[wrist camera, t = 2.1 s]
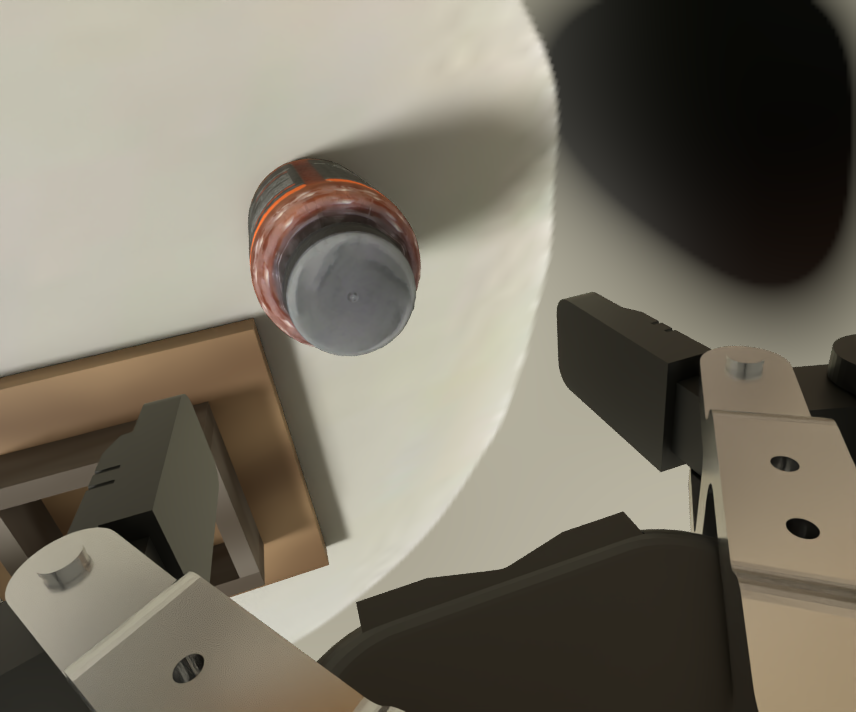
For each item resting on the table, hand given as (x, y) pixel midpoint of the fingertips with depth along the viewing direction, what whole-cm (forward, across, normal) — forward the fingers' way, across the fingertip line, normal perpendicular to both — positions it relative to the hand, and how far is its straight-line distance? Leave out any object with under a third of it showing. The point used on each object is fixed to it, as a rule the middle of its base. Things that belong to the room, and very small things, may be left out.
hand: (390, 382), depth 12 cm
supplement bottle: (+17, 0, 0) cm, 17 cm away
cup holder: (+17, +12, +12) cm, 24 cm away
